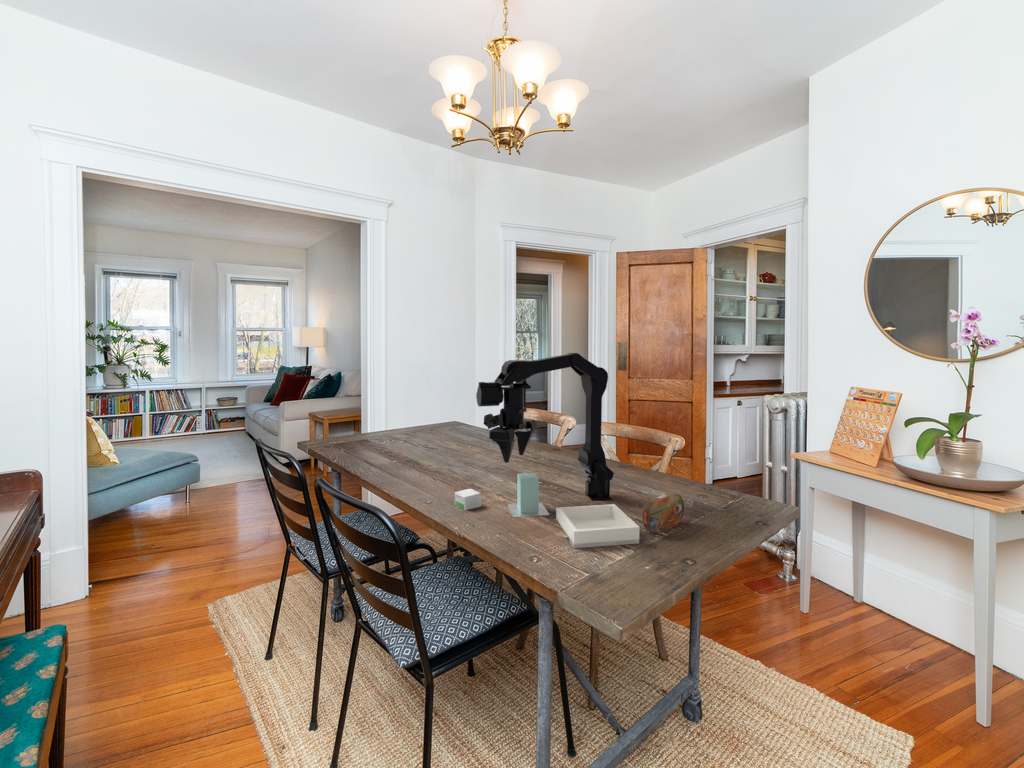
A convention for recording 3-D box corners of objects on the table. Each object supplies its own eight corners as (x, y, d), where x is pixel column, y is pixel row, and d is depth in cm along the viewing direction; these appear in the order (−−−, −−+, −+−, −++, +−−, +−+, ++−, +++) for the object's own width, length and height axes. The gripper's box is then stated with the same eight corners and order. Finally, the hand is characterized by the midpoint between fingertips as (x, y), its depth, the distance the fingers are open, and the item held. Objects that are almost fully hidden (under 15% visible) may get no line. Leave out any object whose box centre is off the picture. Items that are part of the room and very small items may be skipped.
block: (534, 505, 138) (534, 472, 138) (538, 512, 134) (538, 478, 133) (517, 506, 138) (517, 473, 137) (520, 513, 133) (520, 478, 132)
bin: (613, 518, 132) (614, 504, 131) (639, 543, 116) (639, 527, 115) (556, 522, 129) (556, 507, 128) (573, 548, 113) (574, 531, 113)
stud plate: (541, 505, 141) (541, 493, 141) (549, 518, 132) (549, 505, 131) (507, 507, 140) (507, 495, 139) (513, 520, 130) (513, 507, 130)
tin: (650, 537, 119) (651, 503, 119) (639, 533, 122) (640, 500, 121) (684, 522, 129) (685, 491, 128) (674, 519, 131) (674, 488, 130)
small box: (454, 508, 139) (454, 491, 139) (471, 504, 143) (471, 487, 142) (464, 514, 135) (464, 497, 134) (482, 509, 138) (482, 492, 138)
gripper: (504, 399, 151) (504, 449, 152) (472, 407, 134) (473, 463, 136) (537, 401, 146) (537, 452, 147) (508, 410, 129) (508, 468, 131)
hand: (514, 458), depth 140 cm, fingers open, 9 cm apart
